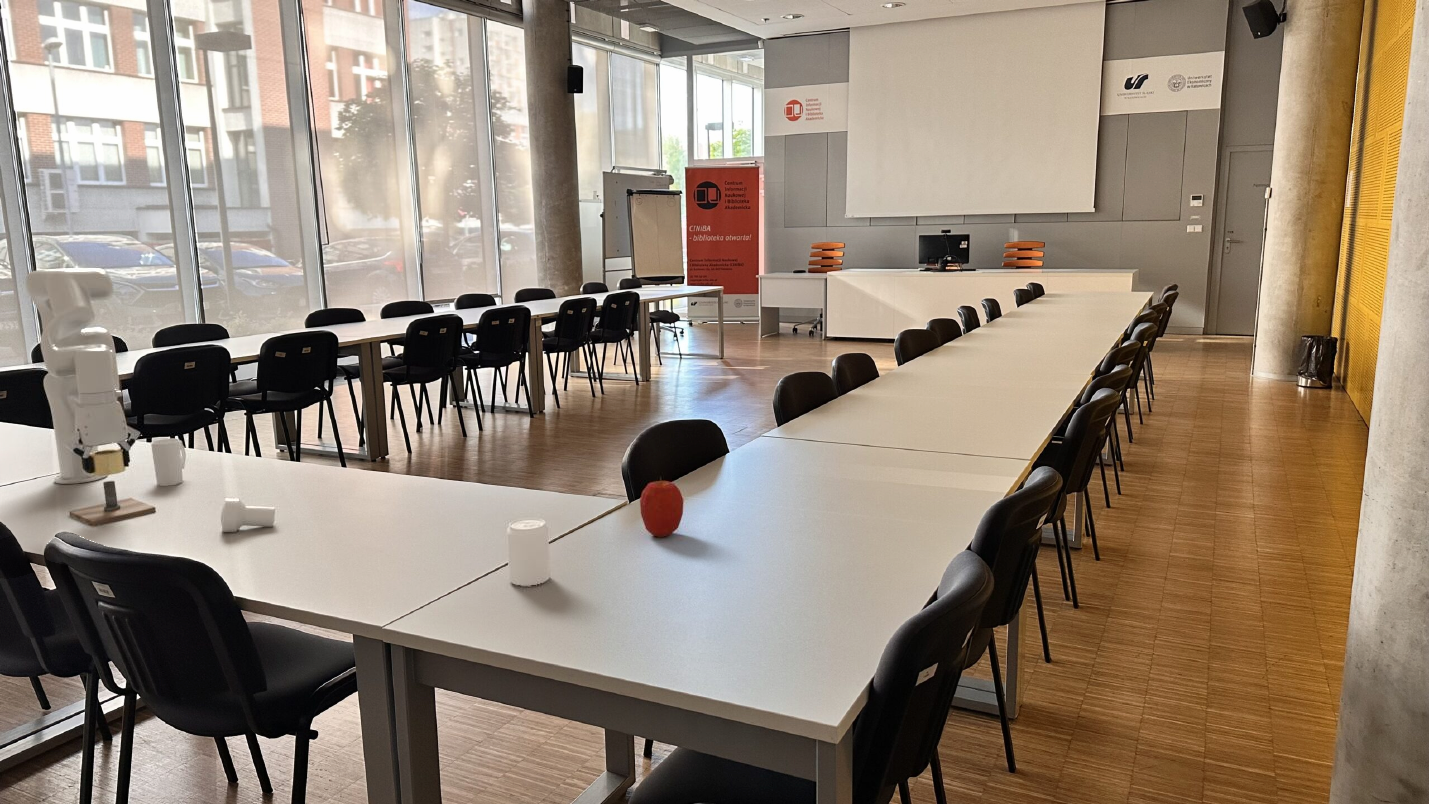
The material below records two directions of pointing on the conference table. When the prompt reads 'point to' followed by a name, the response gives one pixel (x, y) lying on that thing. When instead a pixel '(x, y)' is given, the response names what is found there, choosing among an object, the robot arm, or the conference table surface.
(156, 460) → the mug
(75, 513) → the post block
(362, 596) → the conference table surface
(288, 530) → the conference table surface
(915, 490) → the conference table surface
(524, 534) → the beverage can
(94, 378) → the robot arm
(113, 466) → the ring
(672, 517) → the apple
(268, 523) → the spotlight
